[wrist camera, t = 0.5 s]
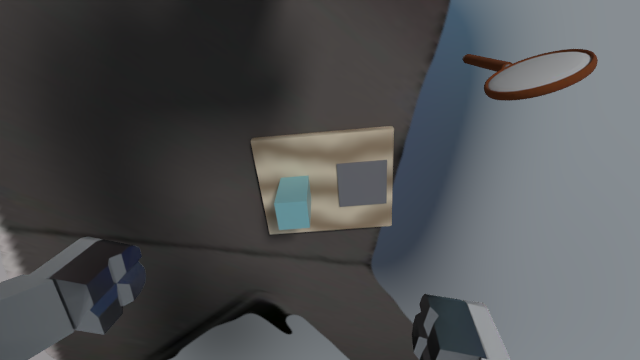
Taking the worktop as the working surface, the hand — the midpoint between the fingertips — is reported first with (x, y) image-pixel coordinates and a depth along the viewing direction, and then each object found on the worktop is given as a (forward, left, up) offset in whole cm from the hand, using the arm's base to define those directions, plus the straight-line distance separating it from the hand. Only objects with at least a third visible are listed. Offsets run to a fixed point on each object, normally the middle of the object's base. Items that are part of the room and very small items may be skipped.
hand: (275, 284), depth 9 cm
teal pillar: (+18, -4, -38) cm, 42 cm away
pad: (+18, +7, -38) cm, 42 cm away
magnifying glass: (0, +22, -39) cm, 45 cm away
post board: (+18, +1, -39) cm, 43 cm away
